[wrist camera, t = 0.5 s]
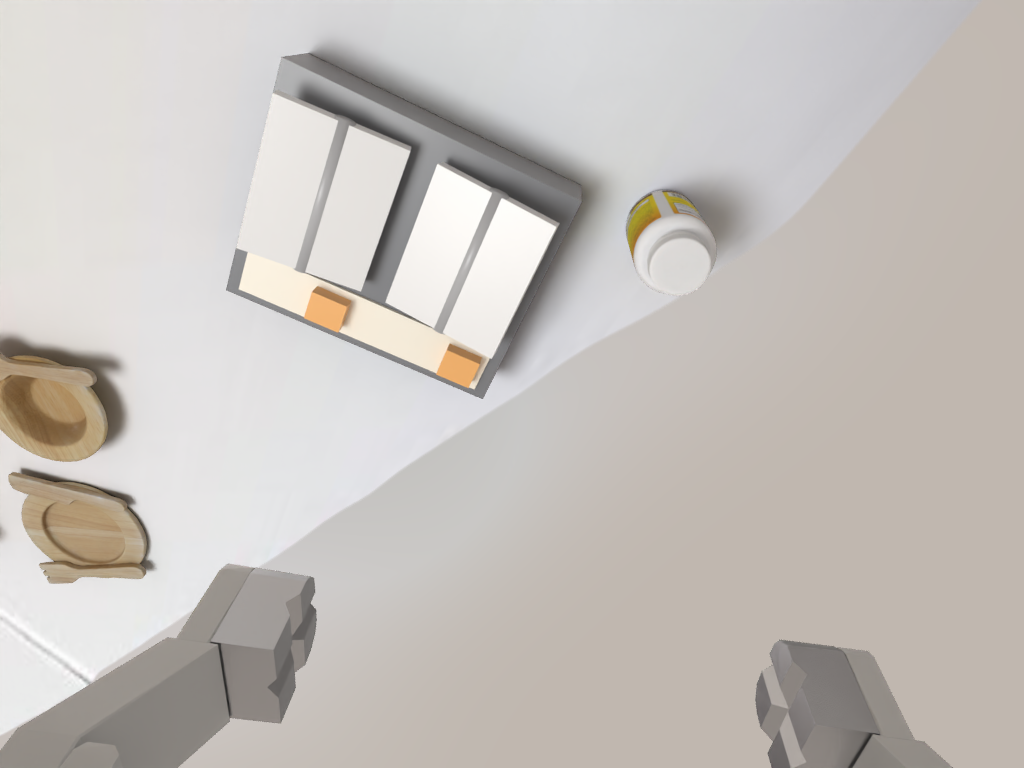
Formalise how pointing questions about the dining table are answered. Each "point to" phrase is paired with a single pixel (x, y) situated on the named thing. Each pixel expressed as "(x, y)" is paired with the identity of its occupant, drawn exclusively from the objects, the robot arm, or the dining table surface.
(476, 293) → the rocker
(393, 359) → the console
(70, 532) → the tableware set
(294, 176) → the rocker
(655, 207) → the supplement bottle
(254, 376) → the dining table surface
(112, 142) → the dining table surface
